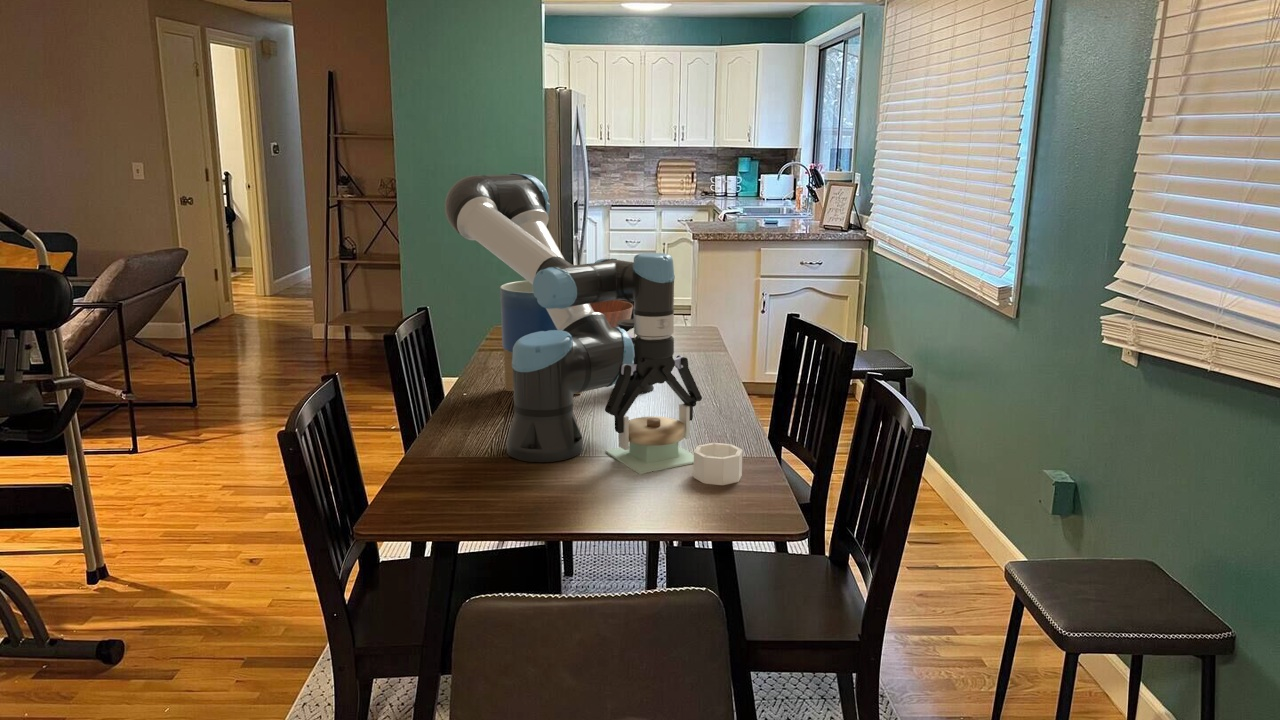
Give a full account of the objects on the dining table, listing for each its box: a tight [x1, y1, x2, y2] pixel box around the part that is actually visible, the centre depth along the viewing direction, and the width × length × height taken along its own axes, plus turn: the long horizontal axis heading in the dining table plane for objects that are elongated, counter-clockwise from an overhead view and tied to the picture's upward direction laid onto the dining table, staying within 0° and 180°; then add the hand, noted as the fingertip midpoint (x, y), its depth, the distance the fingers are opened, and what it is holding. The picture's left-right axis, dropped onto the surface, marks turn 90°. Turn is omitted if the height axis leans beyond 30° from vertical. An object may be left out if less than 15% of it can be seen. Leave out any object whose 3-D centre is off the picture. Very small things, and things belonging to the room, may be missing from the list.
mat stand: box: [604, 442, 694, 475], centre depth 181 cm, size 14×14×4 cm
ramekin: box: [692, 442, 743, 486], centre depth 170 cm, size 8×8×5 cm
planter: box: [499, 280, 583, 395], centre depth 224 cm, size 19×19×26 cm
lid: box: [629, 416, 685, 446], centre depth 180 cm, size 12×12×3 cm
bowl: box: [589, 300, 634, 327], centre depth 280 cm, size 25×25×11 cm
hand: (654, 442), depth 180 cm, fingers open, 13 cm apart
